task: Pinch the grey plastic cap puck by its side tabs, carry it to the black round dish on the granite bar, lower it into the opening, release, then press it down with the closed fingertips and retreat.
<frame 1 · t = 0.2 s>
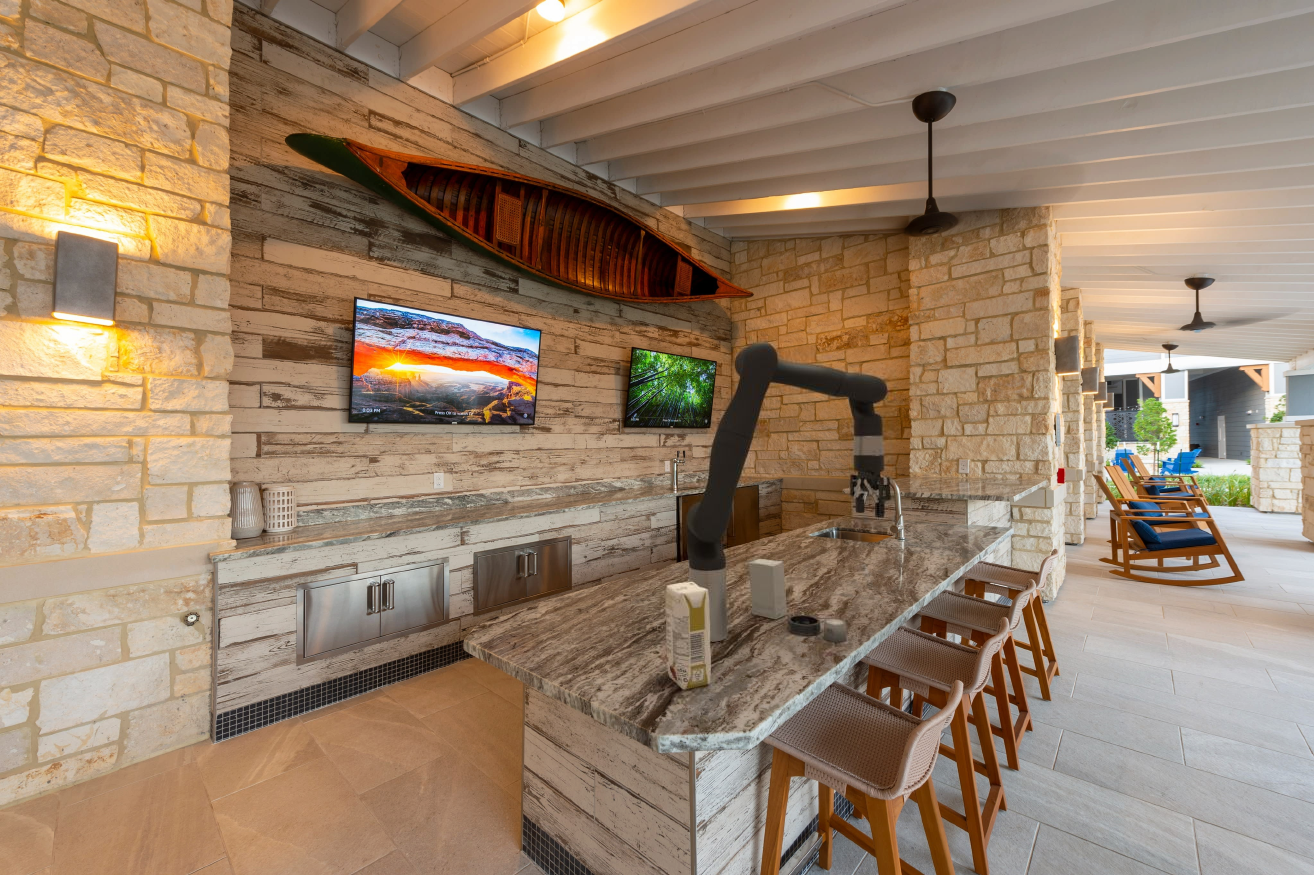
hand: (869, 515, 138), 28 cm above the countertop, fingers open, 8 cm apart
cap: (835, 638, 127), on the countertop
black round dish: (804, 630, 133), on the countertop
skincare box: (768, 615, 146), on the countertop
juice carton: (689, 681, 107), on the countertop
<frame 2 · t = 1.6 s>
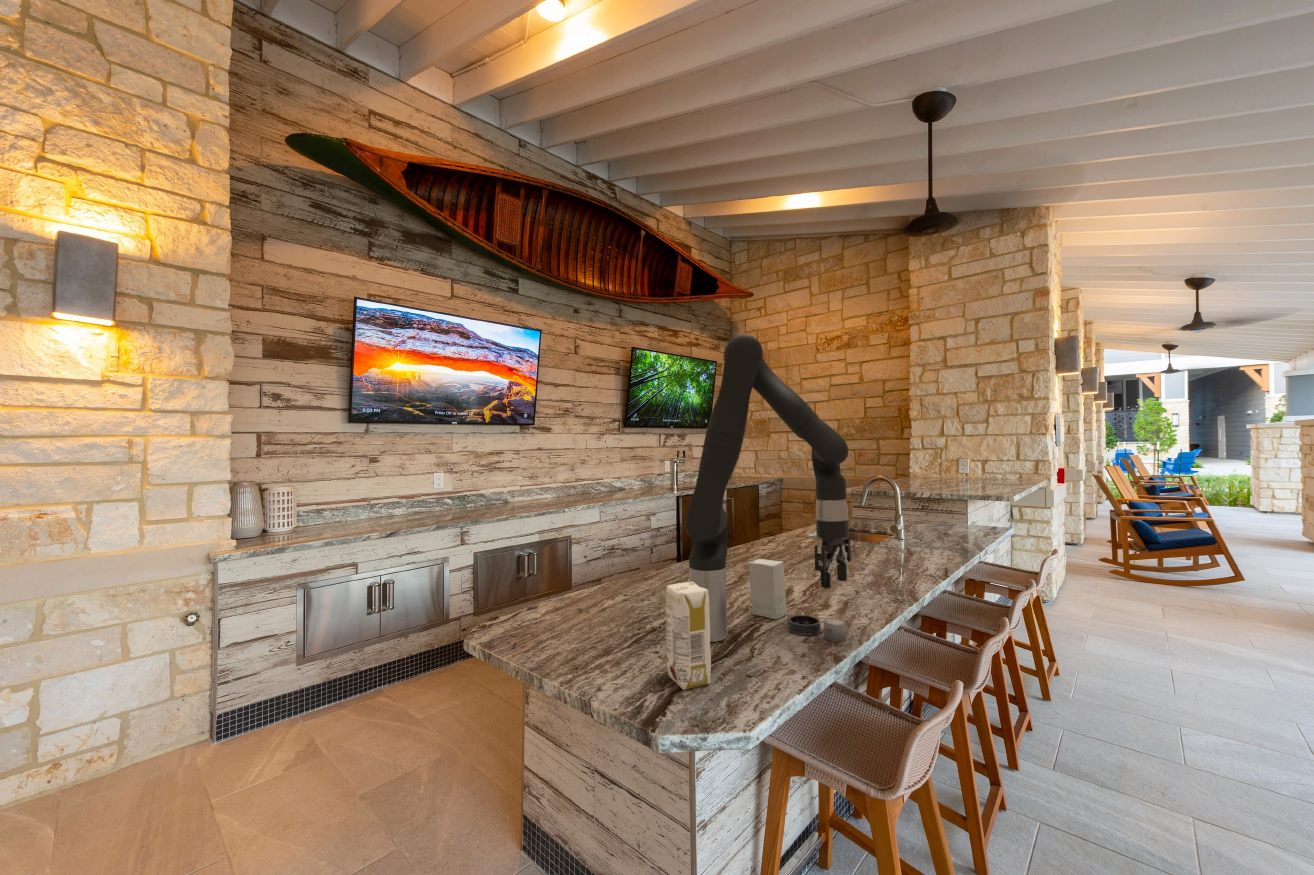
hand: (834, 584, 127), 13 cm above the countertop, fingers open, 8 cm apart
nothing on the countertop moved.
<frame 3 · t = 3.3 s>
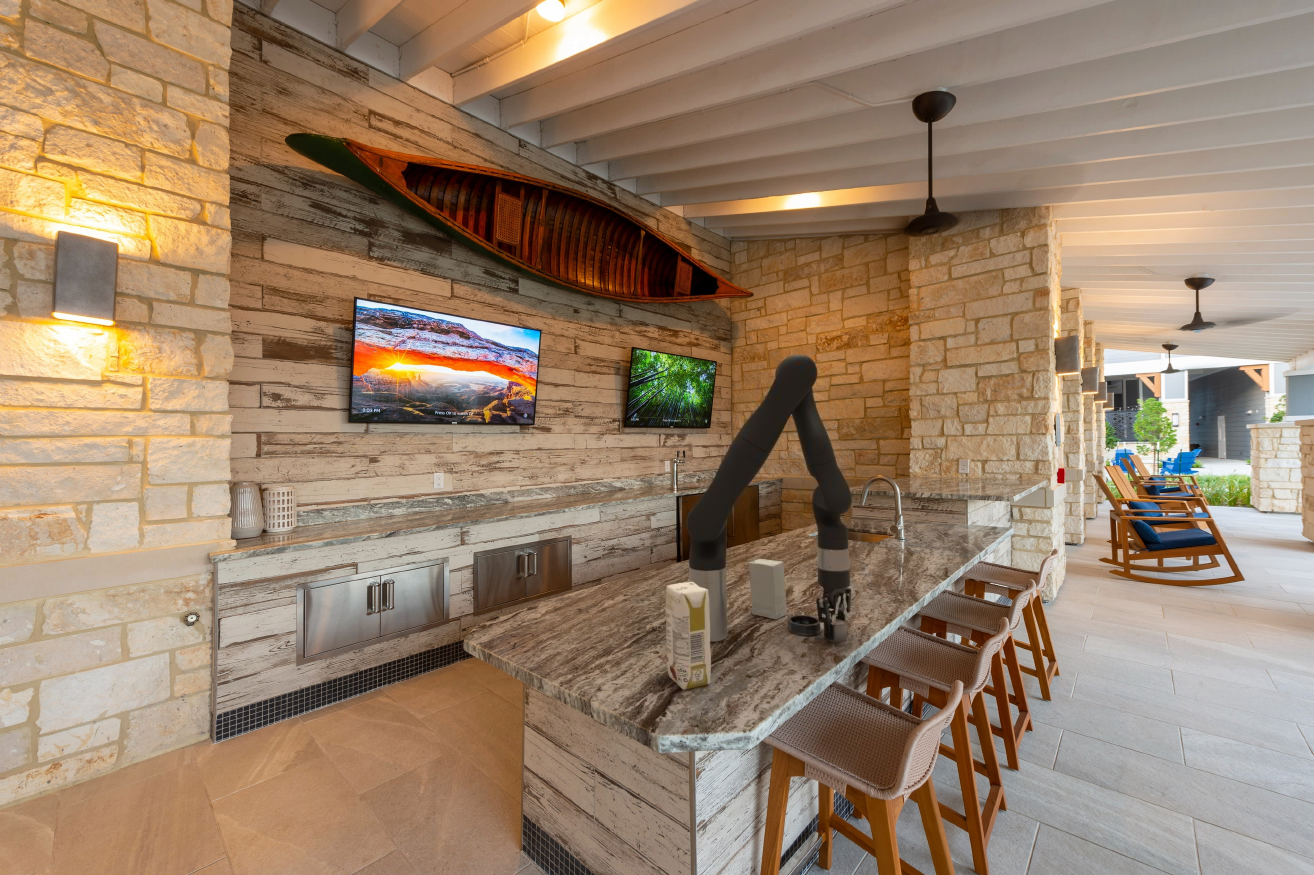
hand: (835, 635, 127), 1 cm above the countertop, fingers closed on cap, 5 cm apart
cap: (835, 638, 127), on the countertop, touching gripper
everything else where it was.
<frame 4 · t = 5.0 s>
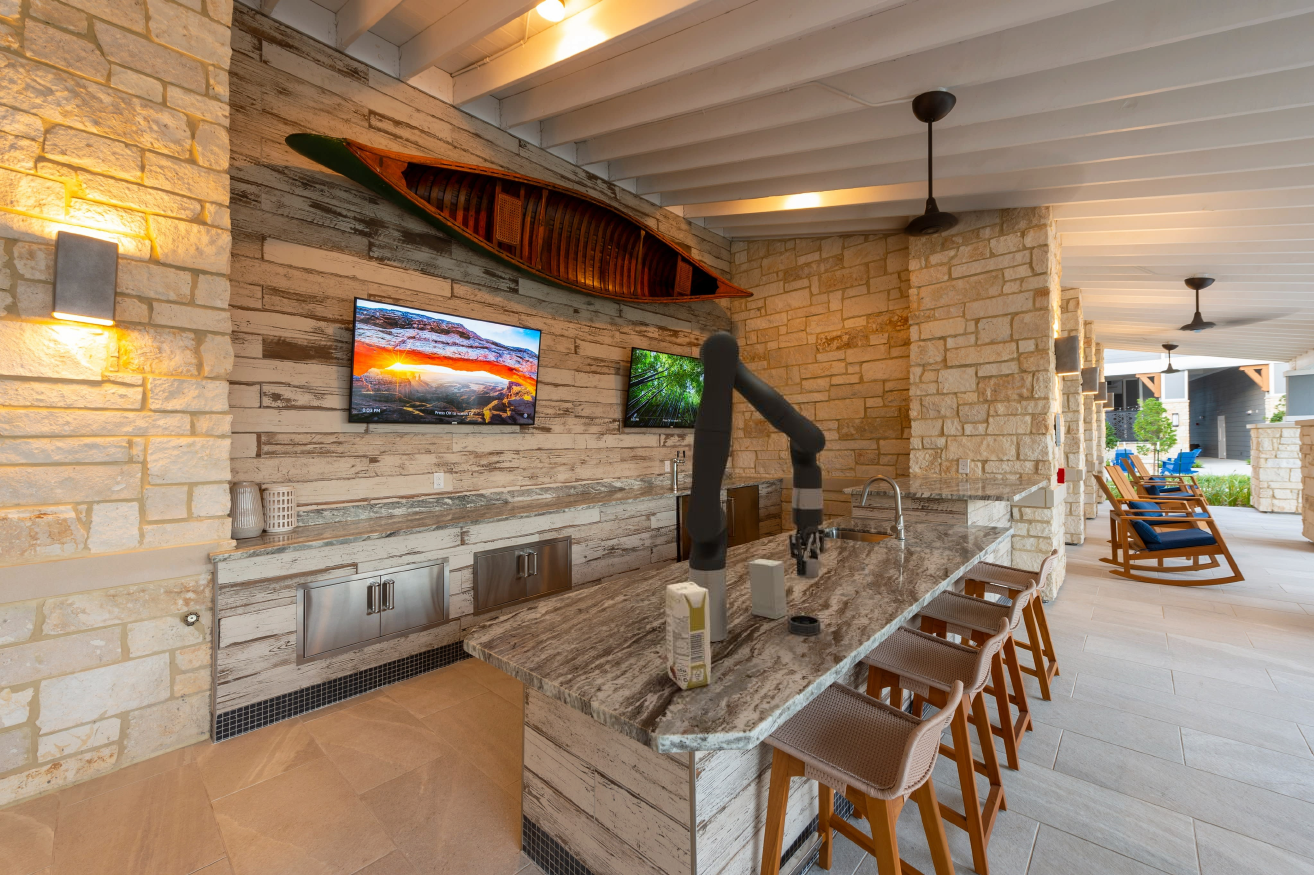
hand: (807, 572, 132), 15 cm above the countertop, fingers closed on cap, 5 cm apart
cap: (807, 575, 132), point 14 cm above the countertop, touching gripper
everything else where it was.
when the fingers open (4 cm above the countertop, at t = 7.1 s): cap drops 2 cm, resting on black round dish.
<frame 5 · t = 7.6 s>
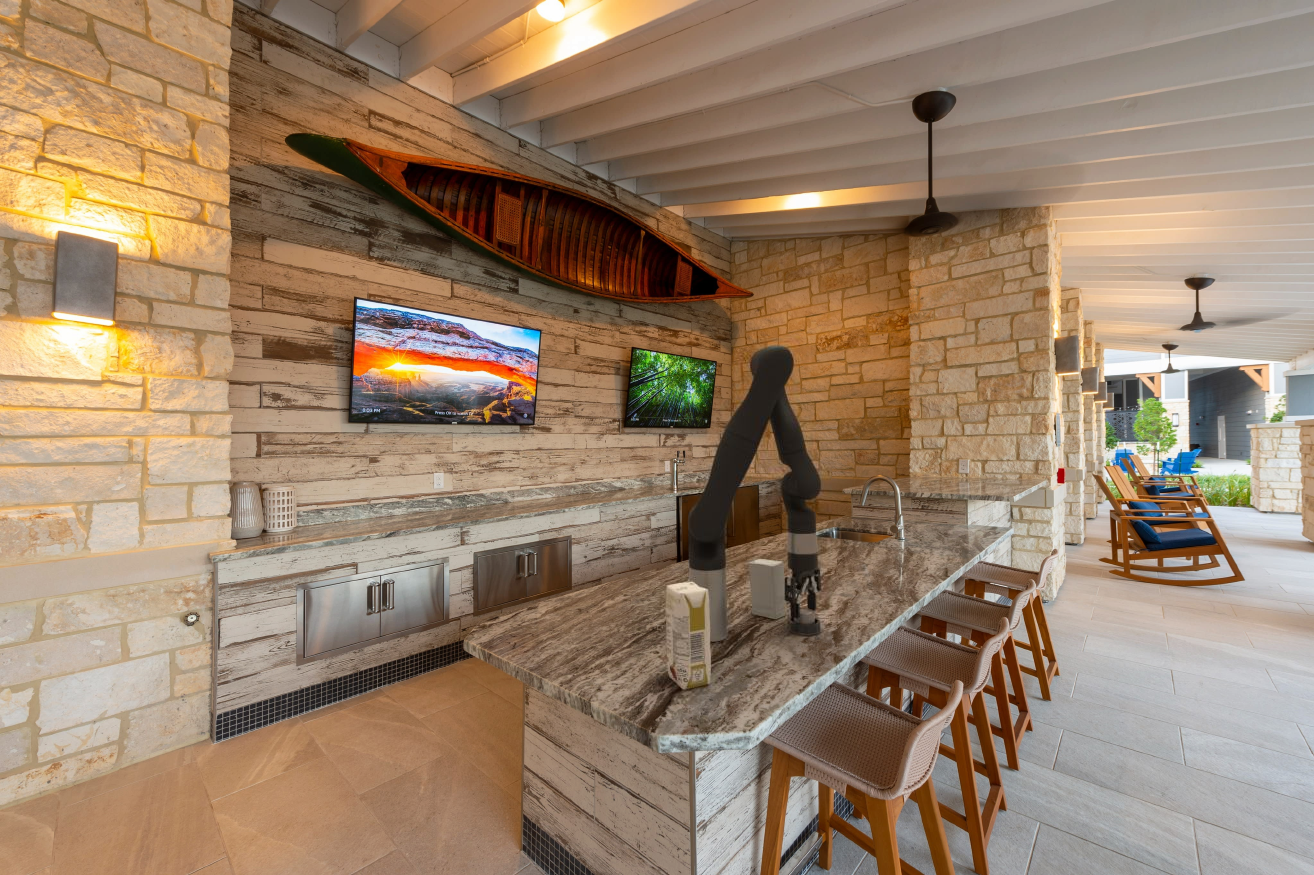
hand: (803, 613, 133), 4 cm above the countertop, fingers open, 8 cm apart
cap: (804, 628, 133), point 1 cm above the countertop, touching black round dish
everything else where it was.
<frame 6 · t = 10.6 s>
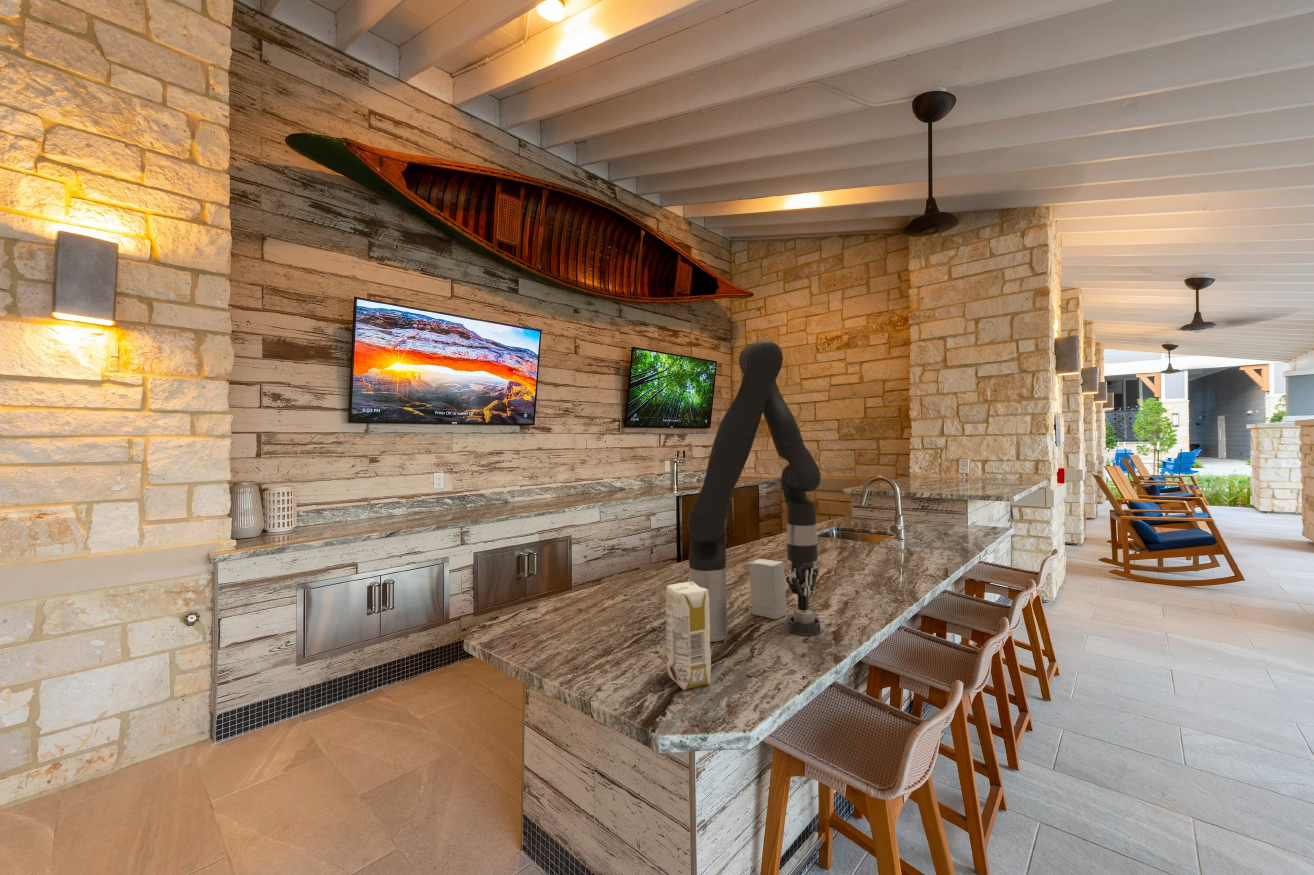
hand: (803, 609, 133), 5 cm above the countertop, fingers closed
nothing on the countertop moved.
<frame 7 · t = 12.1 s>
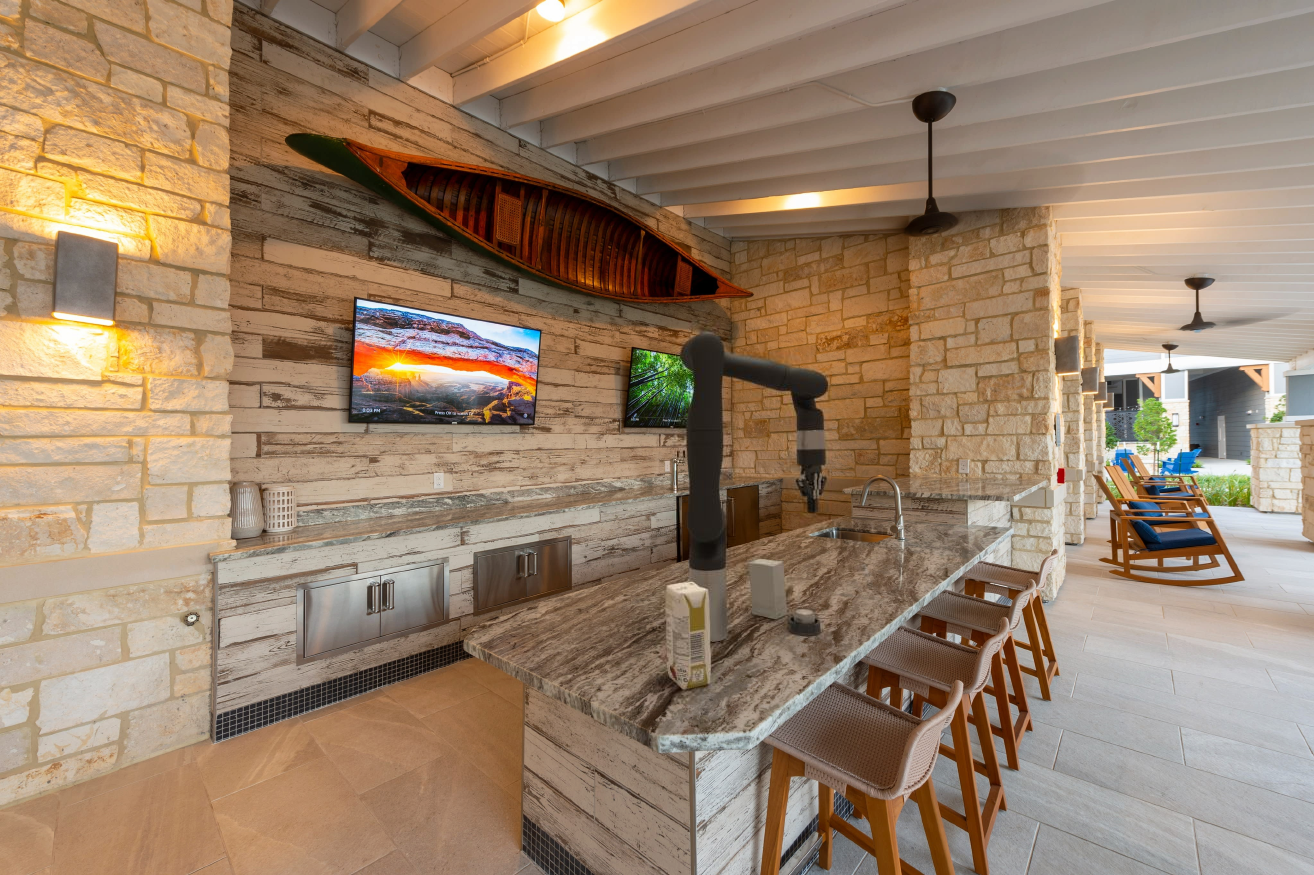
hand: (812, 512, 140), 29 cm above the countertop, fingers closed
nothing on the countertop moved.
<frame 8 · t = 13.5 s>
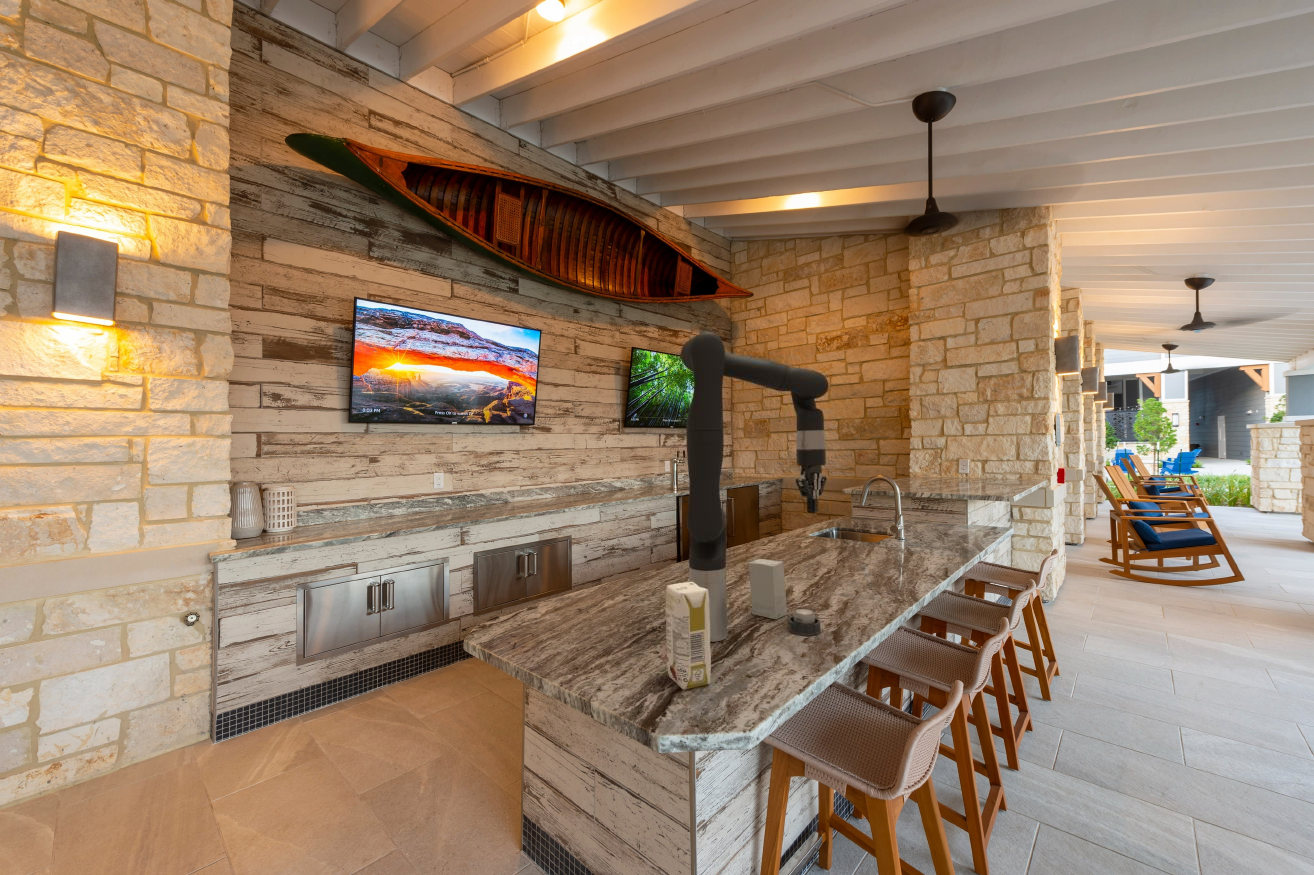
hand: (812, 512, 140), 29 cm above the countertop, fingers closed
nothing on the countertop moved.
at the end: cap 0.1 cm off-centre on the black round dish, point 0.6 cm above the black round dish's base; cap tilted 0°; the gripper is holding nothing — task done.
